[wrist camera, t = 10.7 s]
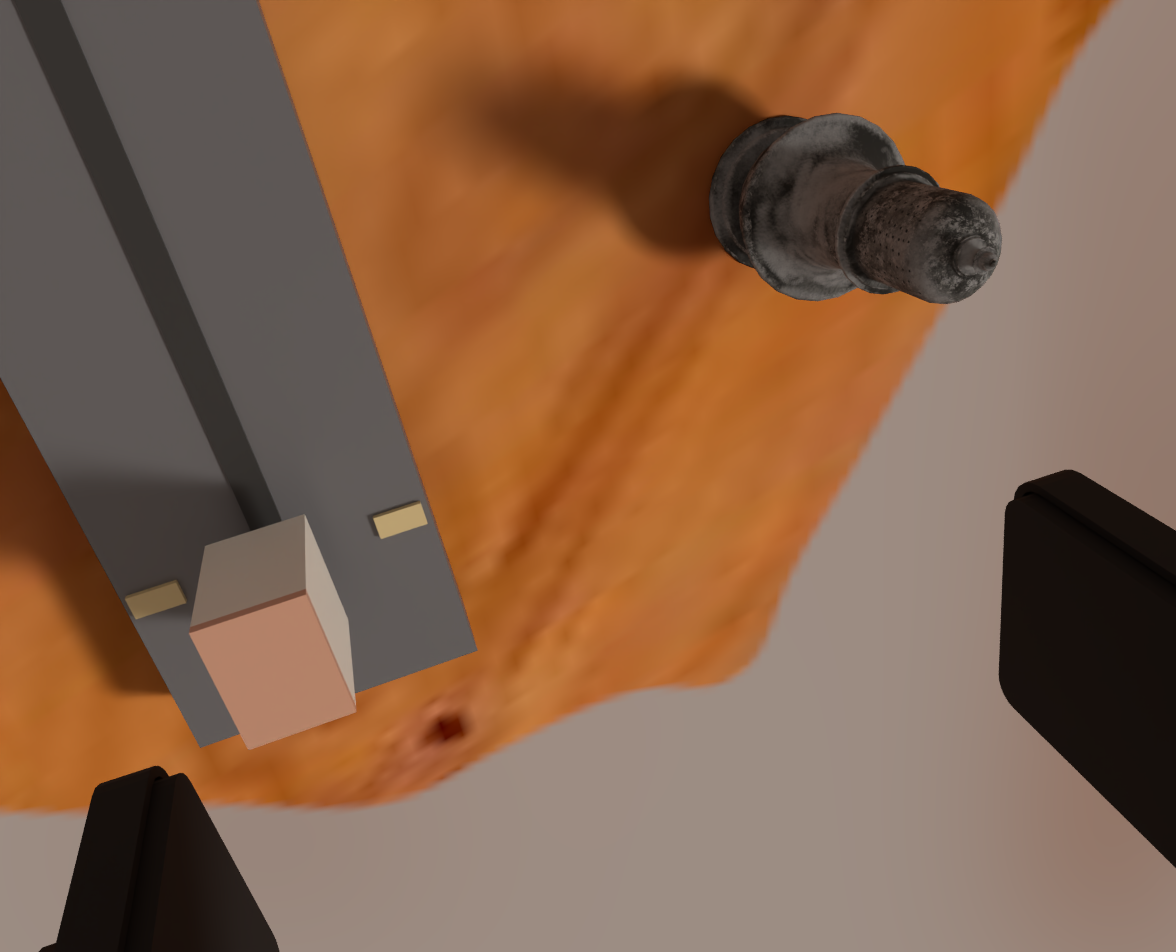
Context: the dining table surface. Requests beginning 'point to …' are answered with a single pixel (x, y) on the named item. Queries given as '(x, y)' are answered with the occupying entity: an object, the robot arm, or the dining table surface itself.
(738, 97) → the dining table surface
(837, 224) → the dark chess piece
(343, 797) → the dining table surface
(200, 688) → the console
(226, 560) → the fader
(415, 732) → the dining table surface
